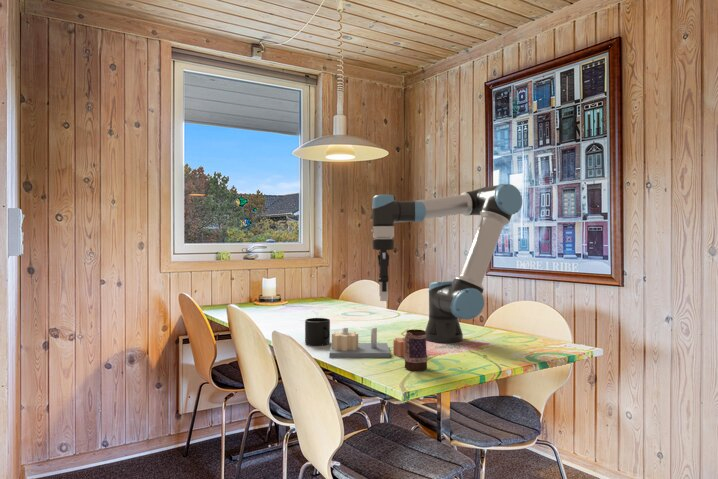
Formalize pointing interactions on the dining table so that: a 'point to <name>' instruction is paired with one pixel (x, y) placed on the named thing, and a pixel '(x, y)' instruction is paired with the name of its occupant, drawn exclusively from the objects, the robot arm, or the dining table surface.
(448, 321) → the robot arm
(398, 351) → the gear
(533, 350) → the dining table surface
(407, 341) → the mug
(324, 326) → the mug
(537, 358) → the dining table surface
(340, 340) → the gear board
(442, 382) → the dining table surface
